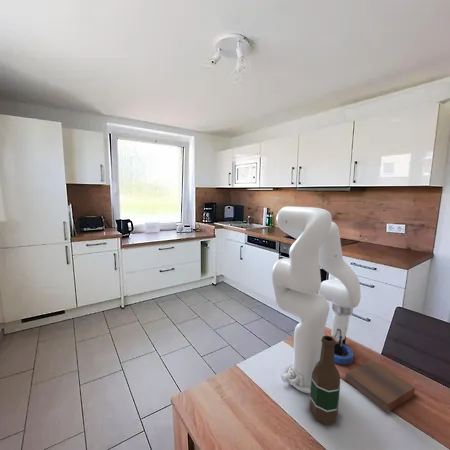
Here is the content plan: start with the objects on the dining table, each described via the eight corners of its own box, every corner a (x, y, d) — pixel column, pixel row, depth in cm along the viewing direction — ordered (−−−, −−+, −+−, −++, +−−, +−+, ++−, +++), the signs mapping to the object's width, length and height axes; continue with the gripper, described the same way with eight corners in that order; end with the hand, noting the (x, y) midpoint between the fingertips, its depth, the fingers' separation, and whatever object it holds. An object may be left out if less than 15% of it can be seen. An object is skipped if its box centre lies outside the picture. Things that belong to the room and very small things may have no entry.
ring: (339, 368, 90) (340, 362, 89) (317, 351, 99) (317, 345, 99) (358, 359, 94) (359, 354, 94) (336, 344, 104) (336, 338, 103)
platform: (387, 413, 72) (388, 404, 71) (345, 380, 84) (346, 372, 84) (414, 396, 78) (415, 387, 77) (371, 367, 90) (372, 360, 90)
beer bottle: (341, 428, 67) (347, 348, 63) (311, 423, 68) (316, 345, 65) (334, 404, 74) (339, 332, 71) (307, 400, 76) (311, 329, 73)
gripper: (336, 297, 107) (333, 335, 109) (327, 314, 92) (324, 356, 95) (355, 302, 102) (352, 341, 105) (349, 320, 88) (346, 364, 91)
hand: (339, 348), depth 100 cm, fingers open, 7 cm apart
